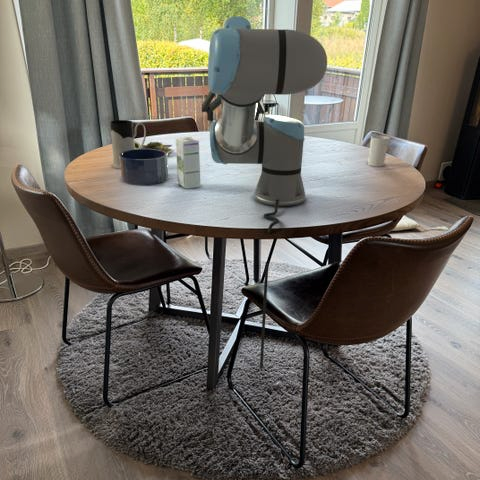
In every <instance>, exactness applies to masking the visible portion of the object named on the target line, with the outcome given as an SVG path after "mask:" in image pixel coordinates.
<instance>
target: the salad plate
mask: <svg viewBox="0 0 480 480" xmlns="http://www.w3.org/2000/svg"><path fill="white" fill-rule="evenodd" d="M134 142H135V149H139V148H140V146H141V143H139V142H138V141H136V140H134ZM171 147H173V144H163V142H162V141H161V142H159V141H150V142H149V143H147V144H143V146H142V148H141V149H157V150H162V151H164V152H166V153H167V156H170V155H171V154H172V153H173V152H174V149H172V148H171Z"/></svg>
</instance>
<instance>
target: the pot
mask: <svg viewBox="0 0 480 480" xmlns="http://www.w3.org/2000/svg"><path fill="white" fill-rule="evenodd" d="M119 158H120V167H121V169H120V175H121V177H120V178H121V181H122V182H123V183H125V184H129V185H134V186H152V185H159V184H163V183H165V182H167V181H168V180H169V160H168V158H169V157H168V155H167V153H166V152H164V151H162V150H157V149H133V150H127V151H124V152H121V153H120V154H119Z"/></svg>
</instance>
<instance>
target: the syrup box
mask: <svg viewBox="0 0 480 480" xmlns="http://www.w3.org/2000/svg"><path fill="white" fill-rule="evenodd" d="M175 151H176V167H177V168H176V170H177V184H178V185H179V186H180V187H182V188H183V189H186V190H188V189H195V188H200V187H201V161H200V160H201V159H200V140H199V139H196V138H194V137H192V136H188V137H187V136H185V137H179V138H175Z"/></svg>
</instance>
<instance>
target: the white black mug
mask: <svg viewBox="0 0 480 480" xmlns="http://www.w3.org/2000/svg"><path fill="white" fill-rule="evenodd" d="M109 124H110V139H111V145H112V156H113V165H112V166H113V168H115V169H119V170H121V167H120V158H119V154H120V153H121V152H124V151H127V150H133V149H135V142H134V141H135V137H136V136H137V128H138V127H139V126H140V125H142V127H143V139H142V142H141V143H140V145H141V146H140V148H139V149H141V148H142V146H143V145H145V141H146V138H147V137H146V136H147V129H146V126H145V124H143V123H141V122H138V123H136V125H135V127H133V121H132V120H128V119H117V120H116V119H115V120H111V121H110V123H109Z"/></svg>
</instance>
